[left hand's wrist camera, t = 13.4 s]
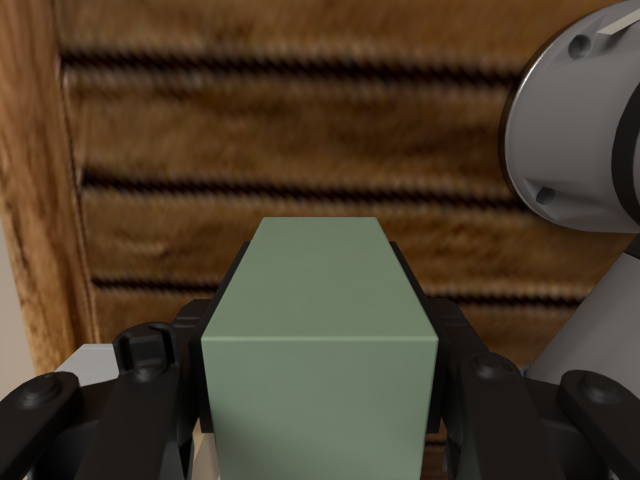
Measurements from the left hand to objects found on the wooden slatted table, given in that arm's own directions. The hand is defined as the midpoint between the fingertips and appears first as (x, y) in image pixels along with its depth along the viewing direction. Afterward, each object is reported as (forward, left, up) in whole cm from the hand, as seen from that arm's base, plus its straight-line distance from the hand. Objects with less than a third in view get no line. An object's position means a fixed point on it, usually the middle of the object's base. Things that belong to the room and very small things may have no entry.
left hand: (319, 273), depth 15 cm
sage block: (0, 0, 0) cm, 0 cm away
